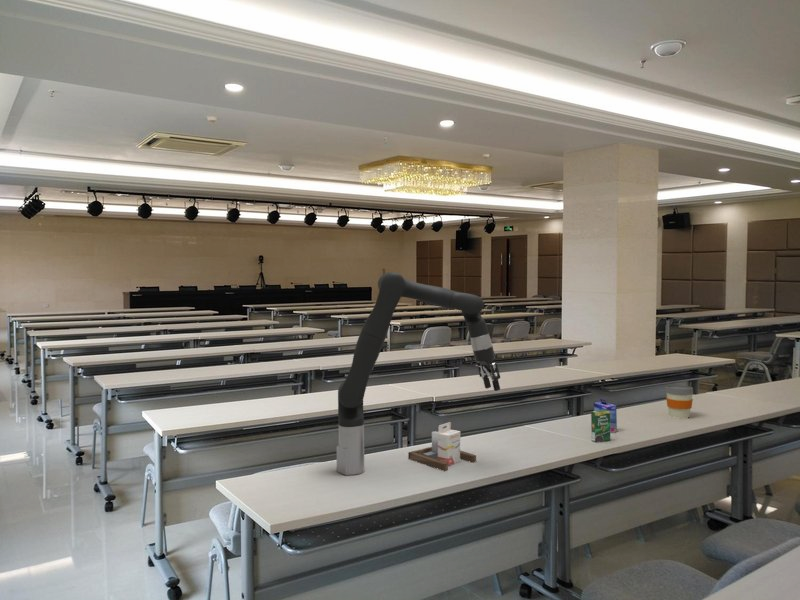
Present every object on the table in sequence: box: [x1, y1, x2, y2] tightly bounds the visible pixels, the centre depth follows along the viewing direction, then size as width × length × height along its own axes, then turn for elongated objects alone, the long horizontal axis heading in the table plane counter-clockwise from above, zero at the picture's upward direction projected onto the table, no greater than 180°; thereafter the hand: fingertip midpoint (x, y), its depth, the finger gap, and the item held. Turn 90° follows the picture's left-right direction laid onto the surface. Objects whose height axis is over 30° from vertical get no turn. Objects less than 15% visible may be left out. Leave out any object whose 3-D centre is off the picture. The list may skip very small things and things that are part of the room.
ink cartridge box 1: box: [437, 421, 461, 467], centre depth 228 cm, size 9×5×15 cm, turn 141°
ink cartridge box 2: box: [593, 398, 618, 434], centre depth 275 cm, size 10×6×14 cm, turn 21°
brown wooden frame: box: [407, 446, 477, 472], centre depth 232 cm, size 17×20×2 cm
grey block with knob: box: [423, 430, 438, 460], centre depth 234 cm, size 12×4×10 cm, turn 130°
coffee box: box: [590, 410, 611, 443], centre depth 257 cm, size 8×3×13 cm, turn 108°
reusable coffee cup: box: [665, 384, 694, 419], centre depth 300 cm, size 13×13×15 cm
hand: (492, 389), depth 225 cm, fingers open, 8 cm apart
